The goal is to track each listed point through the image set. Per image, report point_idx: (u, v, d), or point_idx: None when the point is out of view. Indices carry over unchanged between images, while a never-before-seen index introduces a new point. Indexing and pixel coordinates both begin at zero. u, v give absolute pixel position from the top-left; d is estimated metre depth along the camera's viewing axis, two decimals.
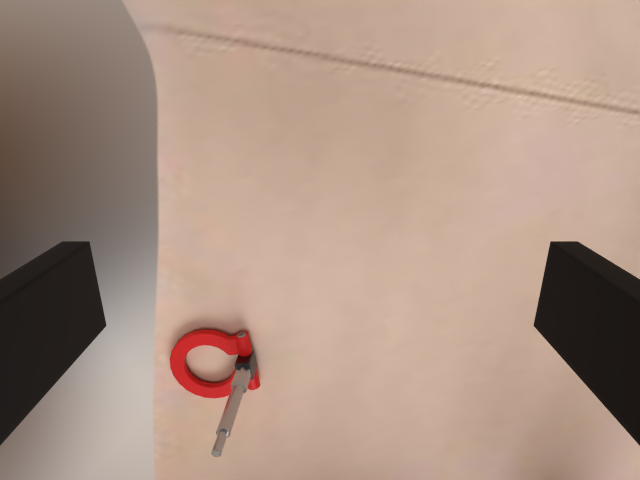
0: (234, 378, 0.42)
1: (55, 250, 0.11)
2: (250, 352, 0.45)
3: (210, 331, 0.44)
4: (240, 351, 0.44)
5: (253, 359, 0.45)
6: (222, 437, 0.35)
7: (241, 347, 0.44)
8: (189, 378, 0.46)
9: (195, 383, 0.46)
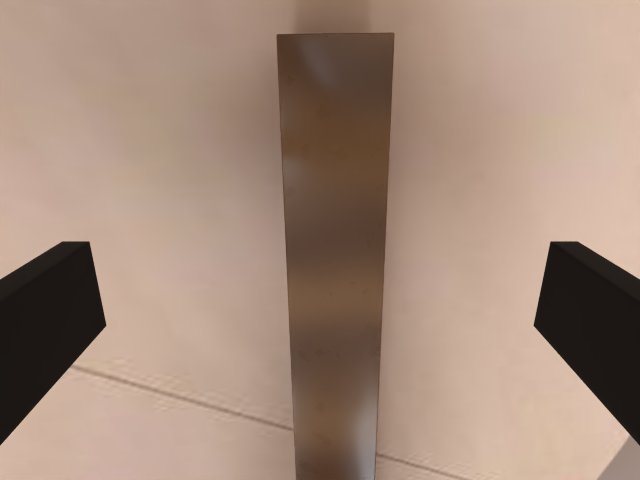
0: None
1: (55, 250, 0.11)
2: None
3: None
4: None
5: None
6: None
7: None
8: None
9: None
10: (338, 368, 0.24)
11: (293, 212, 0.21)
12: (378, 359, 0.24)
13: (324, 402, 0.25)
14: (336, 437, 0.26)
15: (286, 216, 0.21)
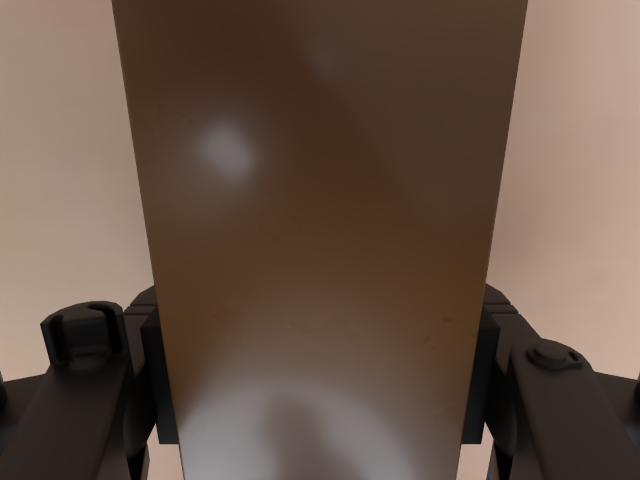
0: None
1: None
2: None
3: None
4: None
5: None
6: None
7: None
8: None
9: None
10: None
11: (205, 467, 0.08)
12: None
13: None
14: None
15: (187, 475, 0.08)
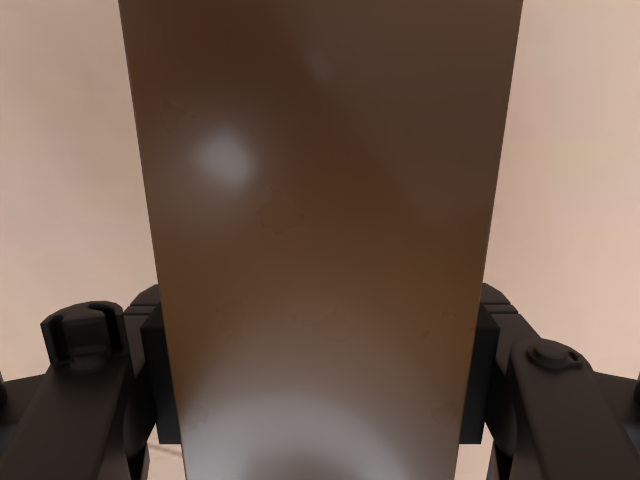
0: None
1: None
2: None
3: None
4: None
5: None
6: None
7: None
8: None
9: None
10: None
11: (206, 461, 0.08)
12: None
13: None
14: None
15: (188, 469, 0.08)
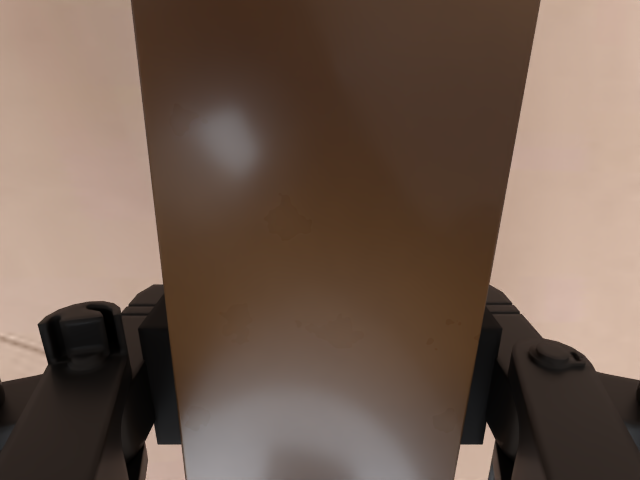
0: None
1: None
2: None
3: None
4: None
5: None
6: None
7: None
8: None
9: None
10: None
11: (207, 463, 0.08)
12: None
13: None
14: None
15: (188, 470, 0.08)
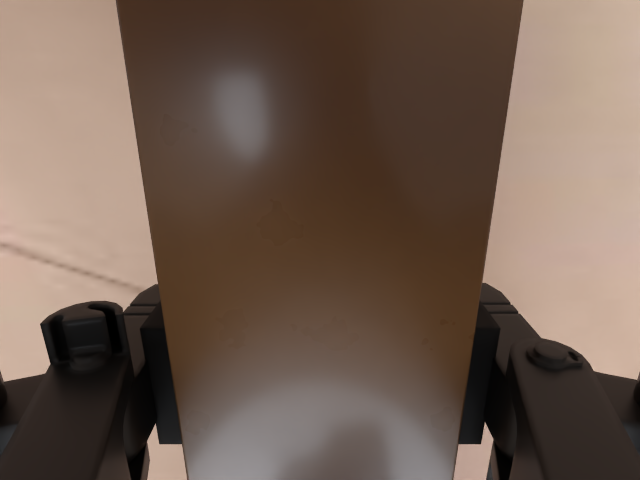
0: None
1: None
2: None
3: None
4: None
5: None
6: None
7: None
8: None
9: None
10: None
11: (208, 466, 0.08)
12: None
13: None
14: None
15: (191, 474, 0.08)
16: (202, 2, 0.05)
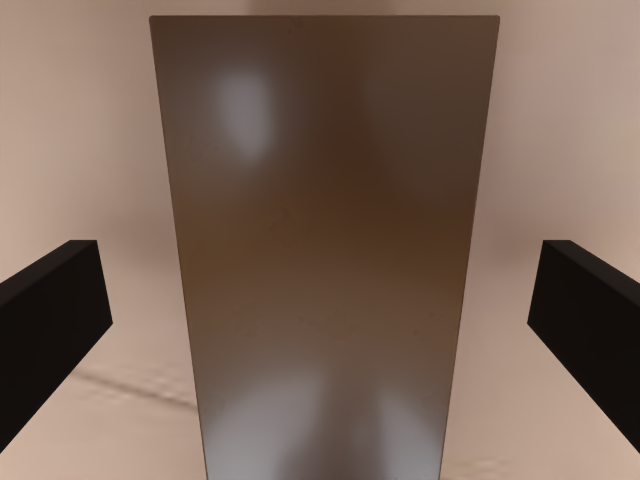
0: None
1: (63, 249, 0.11)
2: None
3: None
4: None
5: None
6: None
7: None
8: None
9: None
10: None
11: (223, 444, 0.09)
12: None
13: None
14: None
15: (207, 452, 0.09)
16: (225, 41, 0.06)
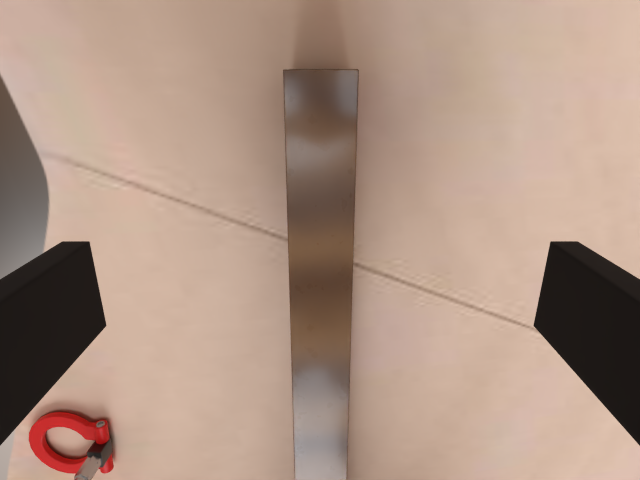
0: (81, 468, 0.45)
1: (55, 250, 0.11)
2: (106, 440, 0.48)
3: (71, 415, 0.47)
4: (96, 439, 0.47)
5: (108, 447, 0.48)
6: None
7: (97, 436, 0.47)
8: (45, 452, 0.49)
9: (50, 457, 0.49)
10: (322, 298, 0.34)
11: (292, 185, 0.31)
12: (350, 292, 0.34)
13: (313, 324, 0.35)
14: (321, 351, 0.36)
15: (288, 188, 0.31)
16: (299, 75, 0.28)
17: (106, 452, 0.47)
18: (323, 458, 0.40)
